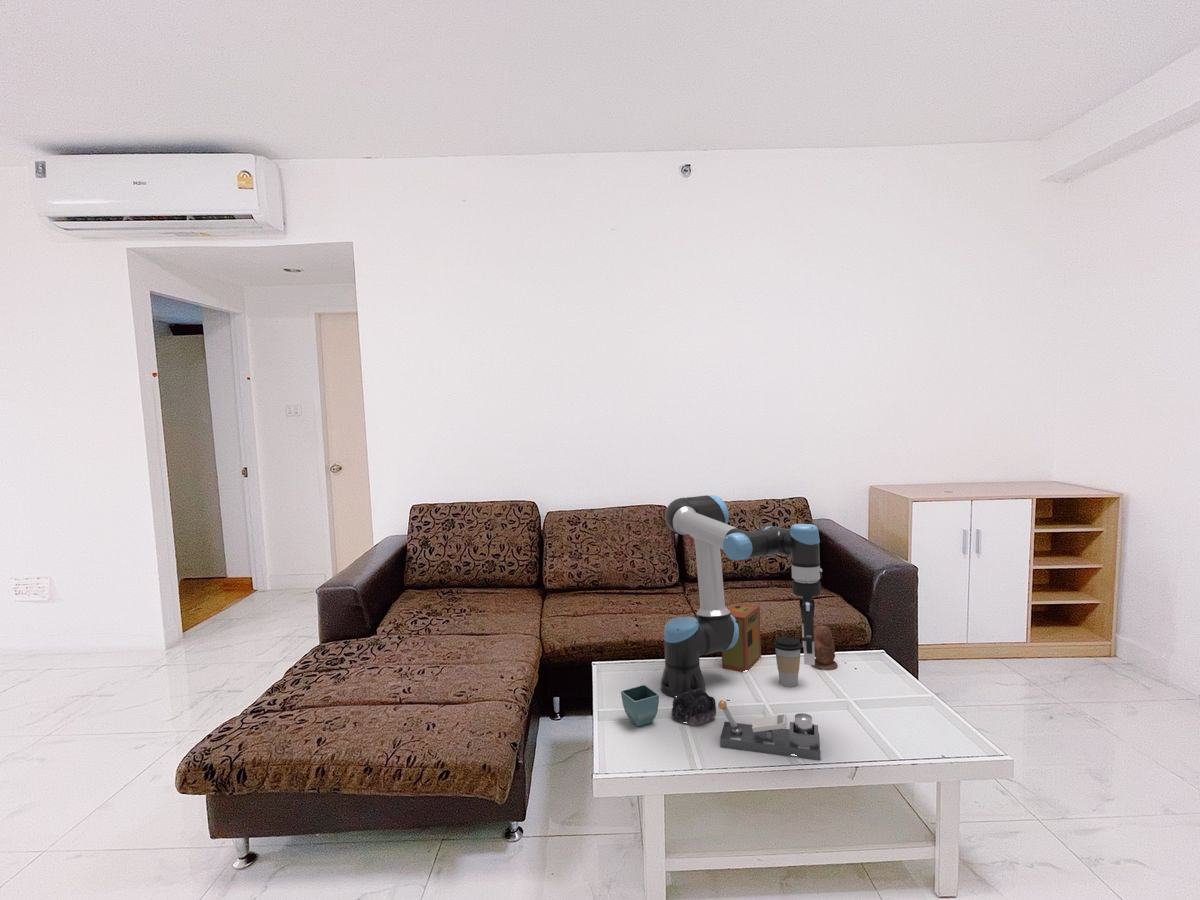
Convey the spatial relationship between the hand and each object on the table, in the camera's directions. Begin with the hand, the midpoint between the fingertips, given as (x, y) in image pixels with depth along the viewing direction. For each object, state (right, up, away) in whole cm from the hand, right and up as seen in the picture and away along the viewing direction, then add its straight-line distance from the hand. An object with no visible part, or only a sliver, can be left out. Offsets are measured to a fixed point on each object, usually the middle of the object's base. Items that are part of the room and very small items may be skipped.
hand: (808, 655), depth 168 cm
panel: (-11, -24, -2) cm, 27 cm away
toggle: (-20, -21, +1) cm, 29 cm away
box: (-5, -23, +57) cm, 62 cm away
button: (-3, -19, -5) cm, 20 cm away
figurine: (+24, -22, +52) cm, 61 cm away
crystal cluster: (-30, -25, +16) cm, 42 cm away
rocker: (-11, -18, -2) cm, 22 cm away
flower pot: (-46, -25, +14) cm, 54 cm away
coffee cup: (+6, -23, +37) cm, 44 cm away
